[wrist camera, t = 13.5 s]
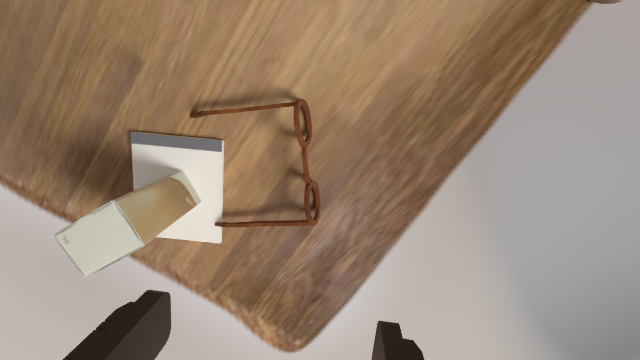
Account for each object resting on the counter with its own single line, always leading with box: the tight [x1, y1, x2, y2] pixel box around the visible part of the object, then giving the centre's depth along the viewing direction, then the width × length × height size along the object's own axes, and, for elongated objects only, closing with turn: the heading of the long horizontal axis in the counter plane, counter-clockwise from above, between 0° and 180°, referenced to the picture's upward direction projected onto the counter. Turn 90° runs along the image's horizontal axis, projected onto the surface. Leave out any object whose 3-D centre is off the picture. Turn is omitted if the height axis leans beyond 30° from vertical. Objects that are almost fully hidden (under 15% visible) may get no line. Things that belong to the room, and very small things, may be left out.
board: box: [130, 132, 224, 243], centre depth 37 cm, size 12×10×1 cm
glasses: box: [190, 99, 320, 227], centre depth 35 cm, size 13×13×5 cm
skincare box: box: [53, 170, 201, 277], centre depth 31 cm, size 6×4×12 cm
